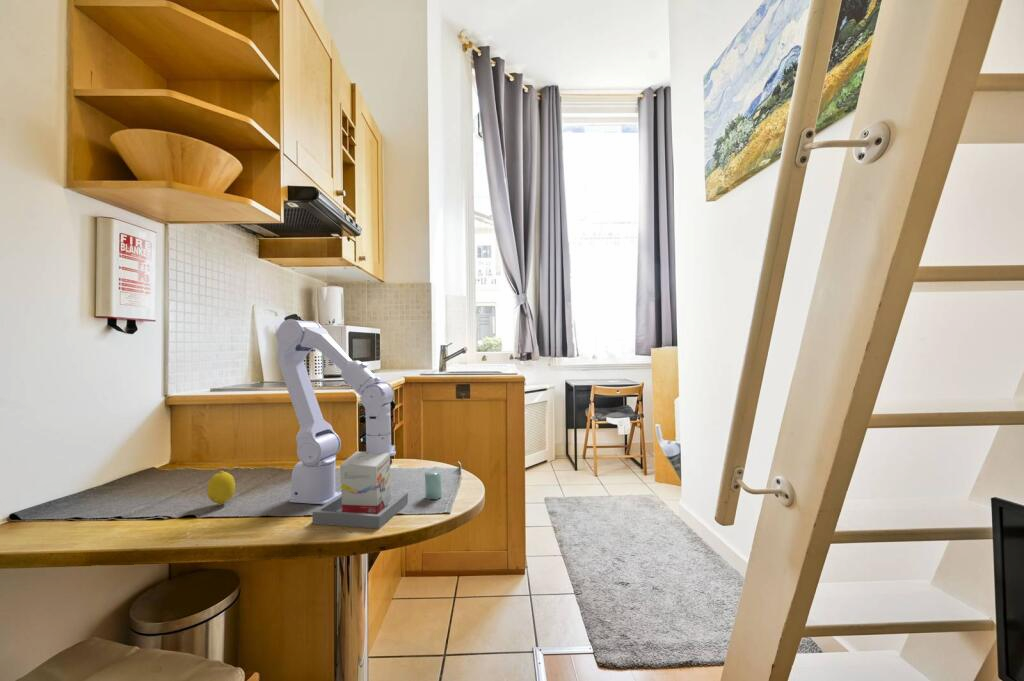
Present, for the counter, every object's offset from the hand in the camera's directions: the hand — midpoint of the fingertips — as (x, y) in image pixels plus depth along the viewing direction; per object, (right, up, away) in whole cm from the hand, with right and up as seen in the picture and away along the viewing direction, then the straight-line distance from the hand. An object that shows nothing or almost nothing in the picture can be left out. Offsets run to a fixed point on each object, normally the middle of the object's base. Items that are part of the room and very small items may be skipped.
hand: (379, 490), depth 110 cm
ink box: (-1, -3, -4) cm, 5 cm away
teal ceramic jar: (+12, -3, +4) cm, 13 cm away
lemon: (-37, -3, -2) cm, 37 cm away
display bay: (-2, -3, -7) cm, 8 cm away
